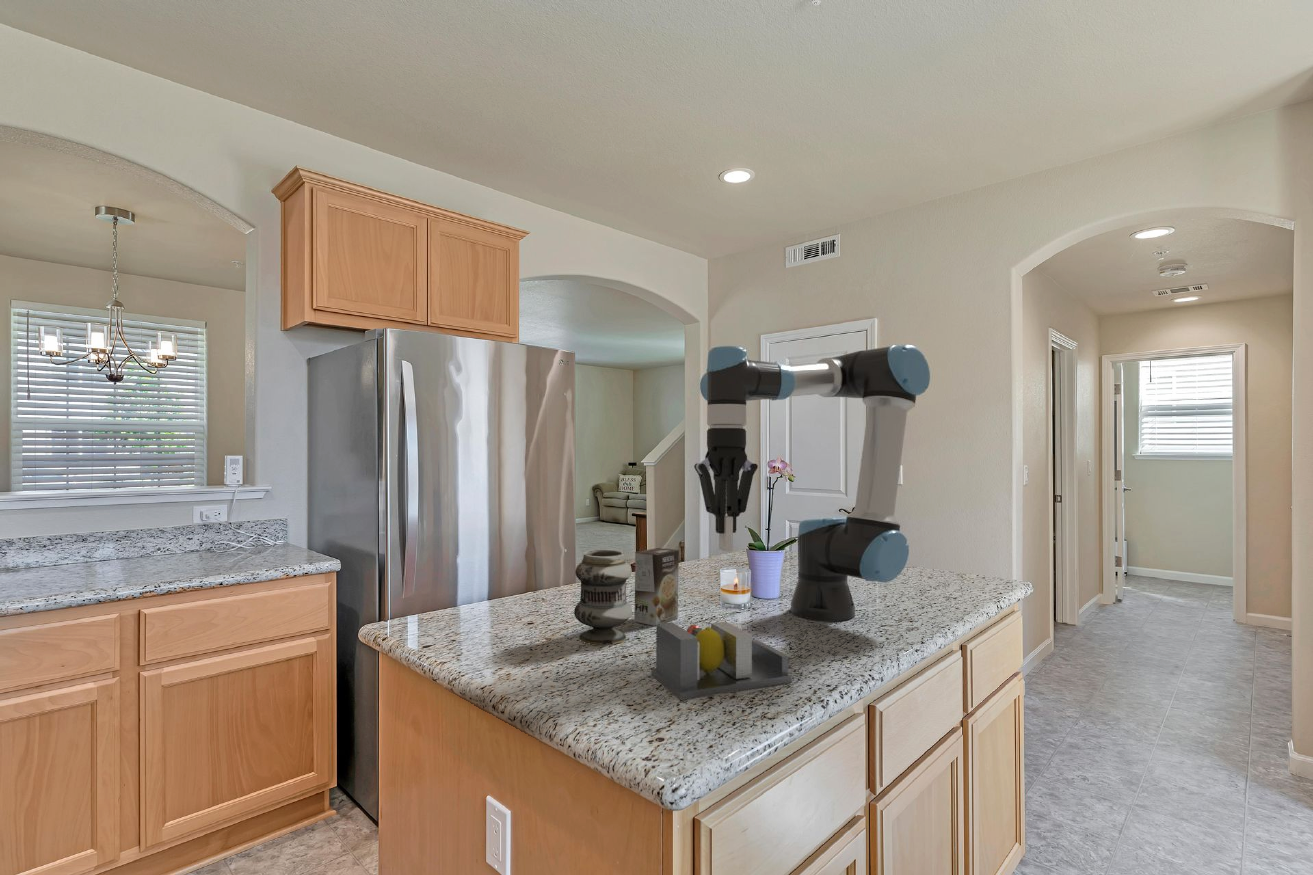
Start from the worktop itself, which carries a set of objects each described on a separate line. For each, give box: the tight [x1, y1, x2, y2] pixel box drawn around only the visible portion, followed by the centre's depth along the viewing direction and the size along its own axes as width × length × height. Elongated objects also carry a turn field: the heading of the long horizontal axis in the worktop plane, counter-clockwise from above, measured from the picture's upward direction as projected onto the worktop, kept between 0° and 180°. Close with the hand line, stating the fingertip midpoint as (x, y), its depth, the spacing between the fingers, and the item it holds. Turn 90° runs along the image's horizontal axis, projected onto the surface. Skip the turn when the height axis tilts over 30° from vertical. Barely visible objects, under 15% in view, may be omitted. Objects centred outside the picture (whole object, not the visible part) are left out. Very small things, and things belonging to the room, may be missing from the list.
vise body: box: [650, 621, 792, 701], centre depth 112 cm, size 21×12×9 cm, turn 113°
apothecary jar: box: [573, 548, 633, 646], centre depth 135 cm, size 12×12×18 cm
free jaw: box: [686, 621, 753, 679], centre depth 118 cm, size 3×20×7 cm, turn 23°
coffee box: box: [633, 547, 680, 627], centre depth 150 cm, size 9×6×16 cm
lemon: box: [695, 626, 724, 674], centre depth 111 cm, size 6×6×8 cm
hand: (725, 550), depth 124 cm, fingers closed
